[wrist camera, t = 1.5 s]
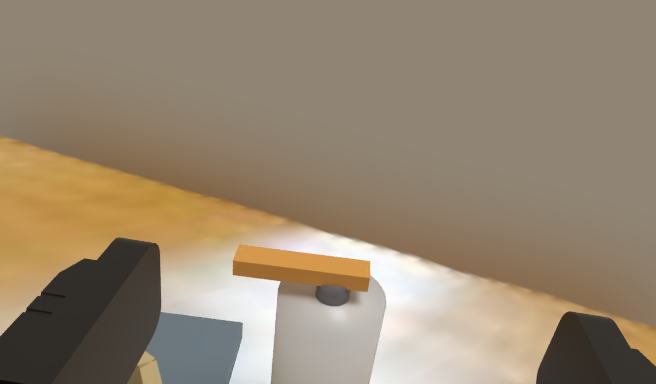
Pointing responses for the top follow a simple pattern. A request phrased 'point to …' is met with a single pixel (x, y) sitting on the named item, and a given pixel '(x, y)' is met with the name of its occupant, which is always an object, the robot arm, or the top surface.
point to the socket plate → (189, 351)
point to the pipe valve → (319, 314)
